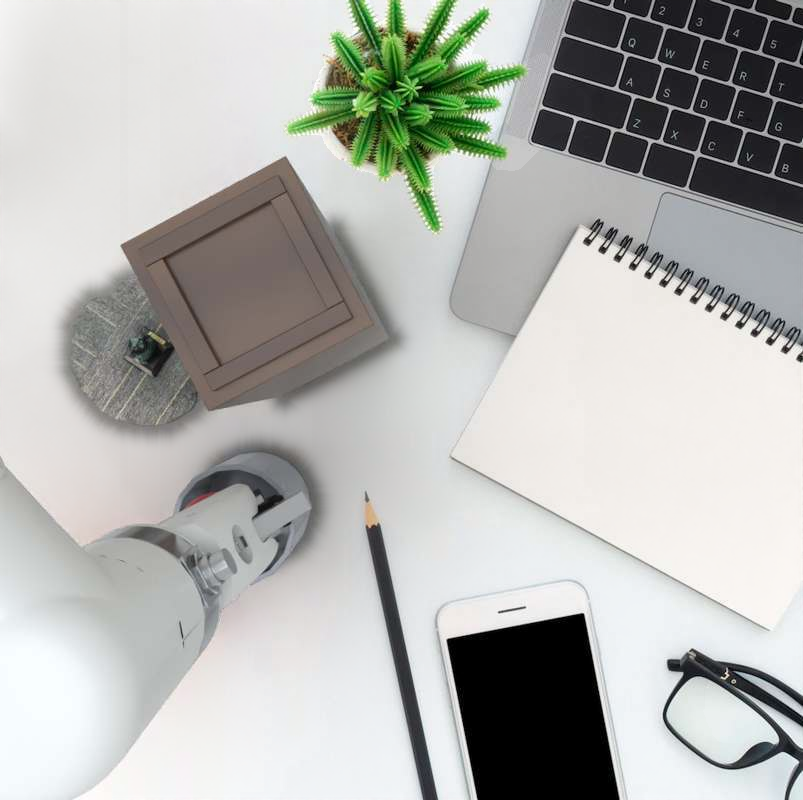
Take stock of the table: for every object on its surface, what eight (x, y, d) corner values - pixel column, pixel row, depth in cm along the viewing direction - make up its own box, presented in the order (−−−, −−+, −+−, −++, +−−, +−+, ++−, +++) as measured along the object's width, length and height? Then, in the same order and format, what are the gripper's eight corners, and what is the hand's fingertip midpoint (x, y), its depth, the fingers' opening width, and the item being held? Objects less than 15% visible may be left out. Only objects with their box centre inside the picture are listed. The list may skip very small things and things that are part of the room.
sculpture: (221, 280, 69) (204, 342, 63) (229, 365, 75) (215, 428, 69) (72, 273, 68) (42, 335, 62) (93, 359, 74) (68, 422, 69)
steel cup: (185, 482, 69) (150, 499, 60) (279, 433, 69) (258, 443, 60) (235, 576, 69) (208, 607, 60) (329, 528, 69) (316, 552, 60)
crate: (224, 287, 68) (116, 243, 44) (332, 230, 68) (284, 153, 44) (281, 396, 69) (205, 412, 44) (389, 339, 68) (373, 323, 44)
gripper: (259, 453, 39) (308, 425, 57) (-61, 621, 40) (88, 541, 58) (334, 595, 39) (360, 522, 57) (14, 760, 40) (139, 637, 58)
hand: (223, 532), depth 57 cm, fingers closed on apple, 5 cm apart
